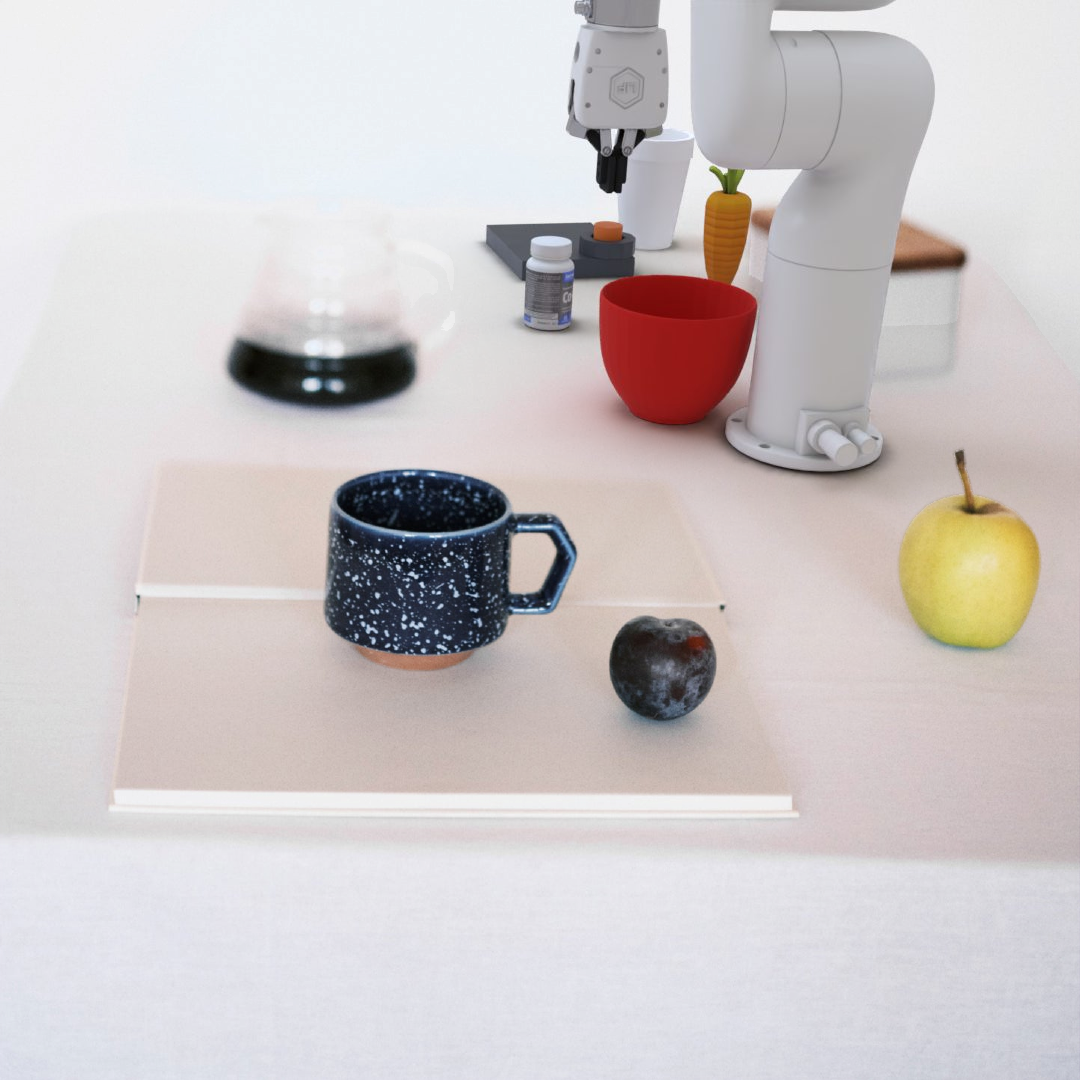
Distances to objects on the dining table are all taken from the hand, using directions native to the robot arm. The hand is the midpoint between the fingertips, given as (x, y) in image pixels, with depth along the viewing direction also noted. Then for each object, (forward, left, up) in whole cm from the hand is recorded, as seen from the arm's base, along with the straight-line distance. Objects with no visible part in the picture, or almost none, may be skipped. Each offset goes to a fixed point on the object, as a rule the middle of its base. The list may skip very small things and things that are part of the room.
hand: (610, 190), depth 151 cm
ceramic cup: (-41, +7, -9) cm, 42 cm away
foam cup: (+11, -9, -9) cm, 17 cm away
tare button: (0, 0, -5) cm, 5 cm away
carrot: (-12, -9, -9) cm, 17 cm away
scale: (+5, +4, -9) cm, 11 cm away
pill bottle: (-18, +12, -9) cm, 23 cm away
